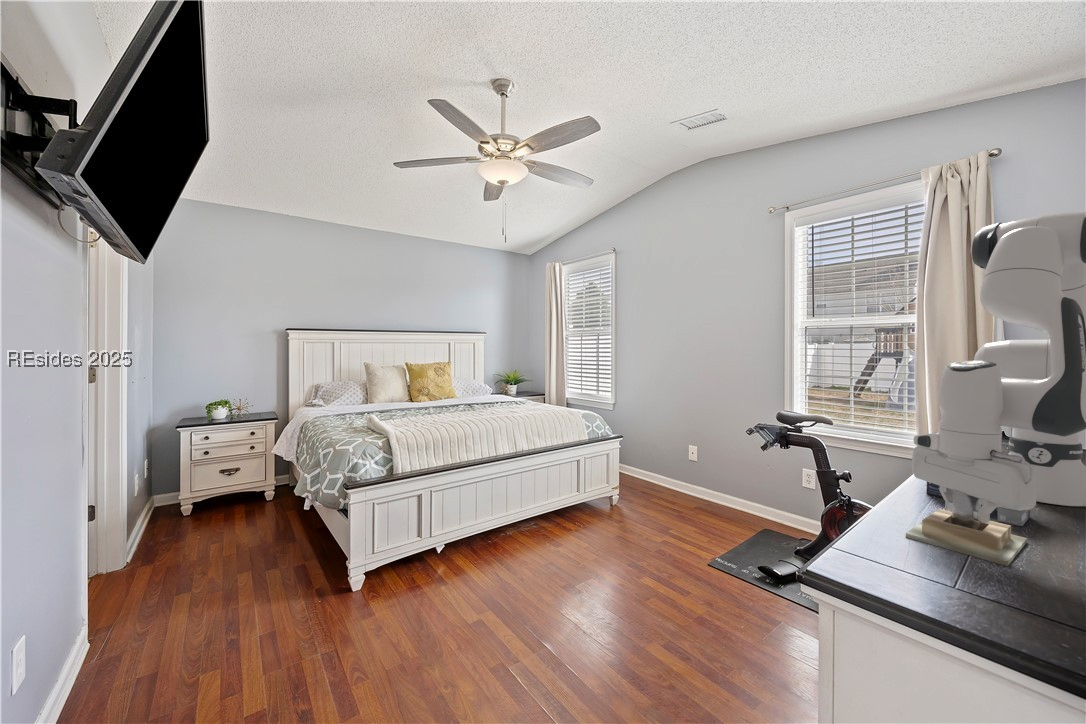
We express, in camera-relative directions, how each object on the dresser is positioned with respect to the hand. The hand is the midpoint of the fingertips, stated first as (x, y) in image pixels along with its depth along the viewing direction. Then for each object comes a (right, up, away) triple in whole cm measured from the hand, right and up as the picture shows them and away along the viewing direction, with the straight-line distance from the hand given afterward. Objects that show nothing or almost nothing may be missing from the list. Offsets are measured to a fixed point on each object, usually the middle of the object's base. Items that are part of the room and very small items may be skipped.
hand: (966, 515), depth 85 cm
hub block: (0, -5, 0) cm, 5 cm away
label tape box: (+20, -5, +10) cm, 23 cm away
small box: (+20, -4, +23) cm, 30 cm away
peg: (0, -3, 0) cm, 3 cm away
